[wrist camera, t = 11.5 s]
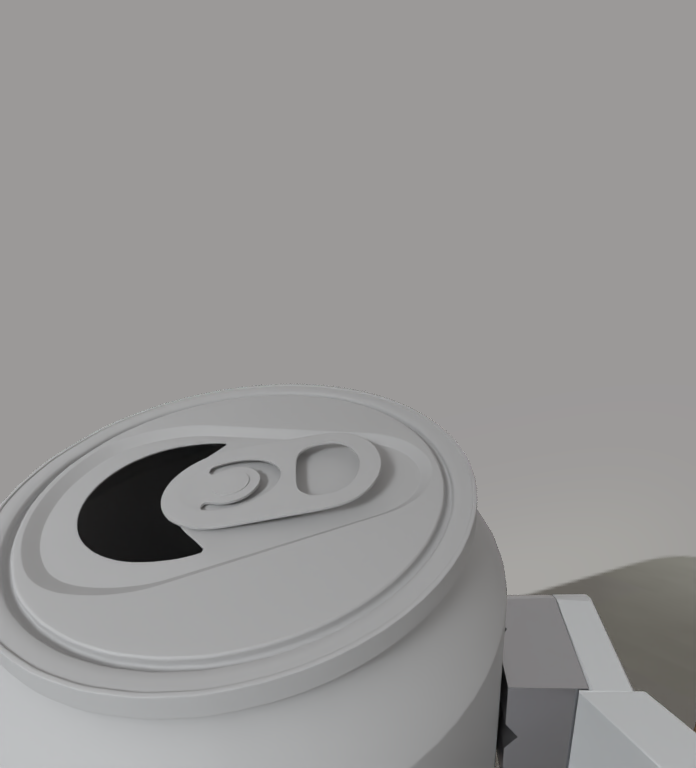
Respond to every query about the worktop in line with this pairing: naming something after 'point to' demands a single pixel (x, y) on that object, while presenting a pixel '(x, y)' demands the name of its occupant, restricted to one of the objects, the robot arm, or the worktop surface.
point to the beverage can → (252, 591)
